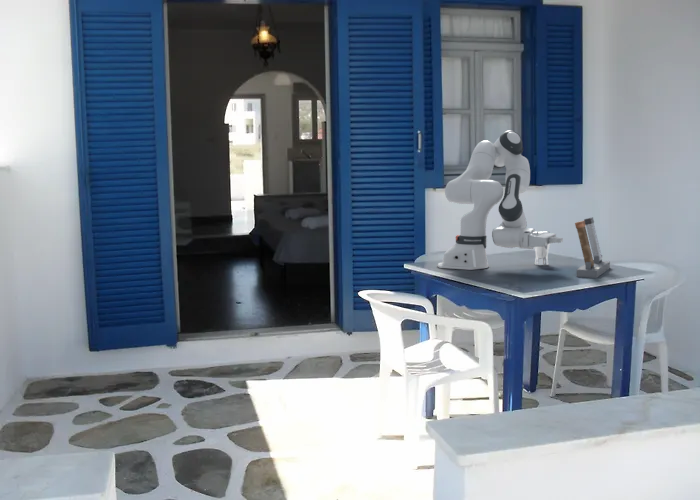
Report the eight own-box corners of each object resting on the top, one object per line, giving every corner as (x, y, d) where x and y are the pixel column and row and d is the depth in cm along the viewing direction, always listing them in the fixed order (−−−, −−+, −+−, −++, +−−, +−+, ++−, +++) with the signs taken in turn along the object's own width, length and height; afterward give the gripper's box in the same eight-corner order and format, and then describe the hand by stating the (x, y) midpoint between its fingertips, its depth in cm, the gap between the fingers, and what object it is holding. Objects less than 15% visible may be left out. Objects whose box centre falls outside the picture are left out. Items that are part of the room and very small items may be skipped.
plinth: (576, 276, 306) (576, 262, 305) (591, 266, 332) (591, 253, 332) (596, 278, 302) (597, 263, 302) (609, 268, 328) (610, 254, 328)
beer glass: (549, 265, 336) (550, 232, 334) (533, 265, 337) (534, 232, 335) (548, 263, 343) (549, 231, 341) (533, 263, 344) (534, 230, 342)
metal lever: (594, 263, 323) (583, 219, 323) (596, 261, 328) (586, 218, 328) (600, 261, 322) (590, 218, 322) (603, 260, 326) (592, 217, 326)
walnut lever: (585, 268, 307) (574, 223, 307) (588, 267, 312) (577, 221, 312) (592, 267, 306) (581, 221, 306) (595, 265, 311) (584, 220, 311)
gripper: (535, 243, 330) (567, 245, 323) (522, 248, 312) (556, 250, 305) (535, 229, 329) (567, 230, 322) (523, 233, 311) (556, 235, 304)
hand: (562, 240), depth 314 cm, fingers closed
